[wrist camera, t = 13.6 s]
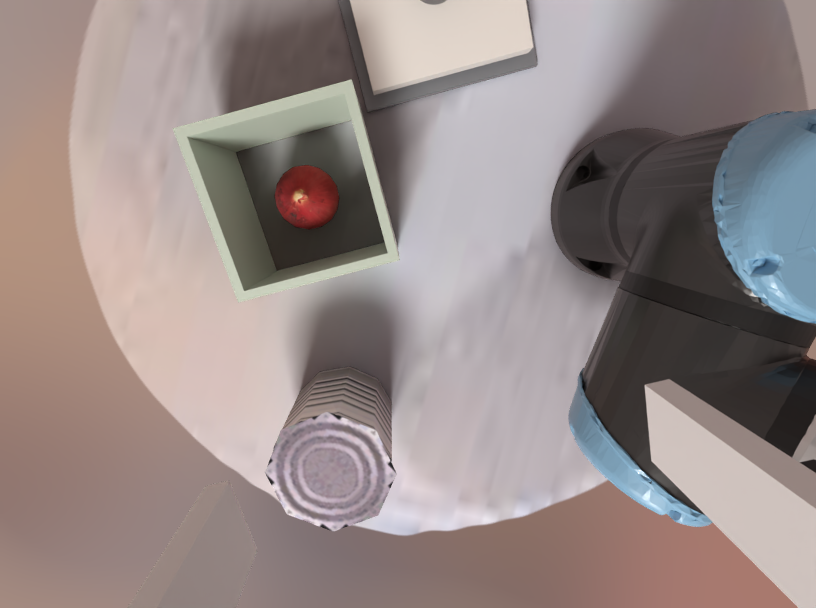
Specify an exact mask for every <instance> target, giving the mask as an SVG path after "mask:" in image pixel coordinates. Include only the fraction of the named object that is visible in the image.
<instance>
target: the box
mask: <svg viewBox="0 0 816 608" xmlns="http://www.w3.org/2000/svg"><path fill="white" fill-rule="evenodd" d="M351 120H352V123H353V127H354V130H355V134H356V138H357V141H358V145H359V149H360V153H361V156H362V160H363V164H364V167H365V171H366V175H367V178H368V182H369V186H370V189H371V193H372V197H373V200H374V204H375V208H376V212H377V215H378V219H379V223H380V226H381V230H382V234H383V237H384V241H385V242H384V243H381V244H377V245H373V246H369V247H365V248H362V249H358V250H354V251H350V252H347V253H343V254H339V255H335V256H331V257H328V258H324V259H320V260H316V261H312V262H309V263H305V264H301V265H297V266H294V267H290V268H286V269H282V270H278V271H277V270H276V267H275V265H274V262H273V259H272V256H271V253H270V250H269V247H268V244H267V241H266V238H265V236H264V233H263V230H262V227H261V224H260V221H259V218H258V215H257V212H256V210H255V207H254V204H253V201H252V198H251V195H250V192H249V189H248V186H247V183H246V181H245V178H244V175H243V172H242V169H241V166H240V163H239V160H238V157H237V154H236V152H237V151H241V150H244V149H248V148H252V147H255V146H259V145H263V144H266V143H270V142H274V141H277V140H281V139H285V138H288V137H292V136H296V135H299V134H303V133H307V132H310V131H314V130H318V129H321V128H325V127H329V126H332V125H336V124H340V123H343V122H347V121H351ZM173 131H174V133H175V136H176V139H177V141H178V144H179V147H180V149H181V152H182V155H183V157H184V160H185V163H186V165H187V168H188V170H189V173H190V176H191V178H192V181H193V184H194V186H195V189H196V192H197V194H198V197H199V200H200V202H201V205H202V208H203V210H204V213H205V216H206V218H207V221H208V224H209V226H210V229H211V231H212V234H213V237H214V239H215V242H216V245H217V247H218V250H219V253H220V255H221V258H222V261H223V263H224V266H225V269H226V271H227V274H228V277H229V279H230V282H231V284H232V287H233V290H234V292H235V295H236V298H237V300H238V303H239V302H242V301H246V300H250V299H254V298H258V297H261V296H265V295H269V294H273V293H277V292H280V291H284V290H288V289H292V288H296V287H299V286H303V285H307V284H311V283H315V282H318V281H322V280H326V279H330V278H334V277H337V276H341V275H345V274H349V273H353V272H356V271H360V270H364V269H368V268H372V267H375V266H379V265H383V264H387V263H391V262H394V261H398V260H400V259H399V252H398V246H397V242H396V238H395V234H394V231H393V227H392V223H391V219H390V215H389V212H388V208H387V204H386V200H385V197H384V193H383V189H382V185H381V181H380V178H379V174H378V170H377V166H376V162H375V159H374V155H373V151H372V147H371V143H370V140H369V136H368V132H367V128H366V124H365V121H364V117H363V113H362V109H361V106H360V103H359V100H358V97H357V94H356V91H355V88H354V85H353V82H352V79H351V80H347V81H344V82H340V83H337V84H333V85H329V86H326V87H322V88H318V89H315V90H311V91H307V92H304V93H300V94H297V95H293V96H289V97H286V98H282V99H278V100H275V101H271V102H267V103H264V104H260V105H257V106H253V107H249V108H246V109H242V110H238V111H235V112H231V113H228V114H224V115H220V116H217V117H213V118H209V119H206V120H202V121H198V122H195V123H191V124H188V125H184V126H180V127H177V128H173Z"/></svg>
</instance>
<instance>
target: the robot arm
mask: <svg viewBox="0 0 816 608" xmlns="http://www.w3.org/2000/svg"><path fill="white" fill-rule="evenodd" d="M551 223H552V229H553V233H554V237H555V239H556V242H557V244H558V246H559V248H560V249H561V251H562V252H563V254H564V255H565V256H566V258H567V259H568V260H569V261H570V262H572V263H573V264H574V265H575V266H576V267H578V268H580V269H581V270H583V271H585V272H587V273H589V274H592V275H595V276H598V277H601V278H604V279H608V280H617V281H621V283H620V285H619V287H618V289H617V291H616V294H615V296H614V299H613V301H612V303H611V306H610V308H609V311H608V313H607V316H606V318H605V320H604V323H603V325H602V328H601V330H600V333H599V335H598V337H597V340H596V342H595V345H594V347H593V349H592V352H591V354H590V356H589V359H588V361H587V363H586V365H585V368H583V369H582V370H581V372H580V375H579V376H578V386H577V389H576V392H575V395H574V398H573V401H572V404H571V406H570V410H569V425H570V429H571V431H572V434H573V435H574V437H575V441H576V443H577V445H578V446H579V448H580V449H581V451H582V452H583V454H584V455H585V456H586V457H587V459H588V460H589V461H590V462H591V463H592V464H593V465H594V467H595V468H596V469H597V470H598V471H599V472H600V473H601V474H603V475H604V476H605V477H606V478H607V479H608V480H609V481H611V482H612V483H613V484H614V485H615V486H616V487H617V488H619V489H620V490H621V491H623V492H624V493H625V494H627V495H628V496H629V497H631V498H632V499H634V500H635V501H637V502H638V503H640V504H641V505H643V506H645V507H646V508H648V509H650V510H652V511H654V512H656V513H658V514H660V515H664V514H667V515H669V516H670V517H671V518H672V519H673V520H674V521H675V522H678V523H681V524H684V525H688V526H695V527H701V526H707V525H710V524H711V523H712V522H713V523H714V524H715V525H716V526H717V527H718V528H719V529H720V530H721V531H722V532H723V533H724V534H725V535H726V536H727V537H728V538H729V539H730V540H731V541H732V542H733V543H734V544H735V545H736V546H737V547H738V548H739V549H740V550H741V551H742V552H743V553H744V554H745V555H746V556H747V557H748V558H749V559H750V560H751V561H752V562H753V563H754V564H755V565H756V566H757V567H758V568H759V569H760V570H761V571H762V572H763V573H764V574H765V575H766V576H767V577H768V578H769V579H770V580H771V581H772V582H773V583H775V584H776V586H777V587H778V588H779V589H780V590H781V591H782V592H783V593H784V594H785V595H786V596H787V597H788V598H789V599H790V600H791V601H792V602H793V603H794V604H795V605H796V606H797V607H798V608H816V360H814V359H810V358H809V357H808V356H807V355H806V354H807V352H808V350H809V348H810V346H811V344H812V342H813V340H814V339H815V337H816V109H813V110H806V111H799V112H789V111H784V112H781V113H771V114H767V115H764V116H762V117H760V118H758V119H756V120H752V121H747V122H743V123H739V124H734V125H730V126H726V127H721V128H717V129H713V130H708V131H704V132H700V133H695V134H691V135H686V136H682V137H680V136H677V135H673V134H670V133H667V132H664V131H660V130H656V129H649V128H635V129H627V130H623V131H619V132H616V133H613V134H609V135H606V136H604V137H601V138H599V139H597V140H595V141H594V142H592V143H590V144H589V145H587V146H586V147H585V148H583V149H582V150H581V151H580V152H579V153H577V154H576V156H575V157H574V158H573V159H572V160H571V161H570V162H569V164H568V165H567V166H566V168H565V169H564V171H563V172H562V174H561V176H560V178H559V180H558V182H557V185H556V187H555V191H554V194H553V198H552V204H551ZM256 553H257V548H256V545H255V543H254V540H253V538H252V536H251V533H250V530H249V528H248V525H247V523H246V520H245V518H244V515H243V513H242V510H241V508H240V506H239V503H238V501H237V498H236V496H235V493H234V491H233V488H232V486H231V483H230V481H225V482H221V483H216V484H211V485H207V486H205V487H204V489H203V491H202V492H201V494H200V495H199V497H198V498H197V500H196V502H195V503H194V505H193V506H192V508H191V509H190V511H189V513H188V514H187V516H186V517H185V519H184V520H183V522H182V524H181V525H180V526H179V528H178V530H177V531H176V533H175V534H174V536H173V537H172V539H171V540H170V542H169V544H168V545H167V547H166V549H165V550H164V551H163V553H162V555H161V556H160V558H159V559H158V561H157V563H156V564H155V565H154V567H153V569H152V570H151V572H150V573H149V575H148V576H147V578H146V579H145V581H144V583H143V584H142V586H141V587H140V589H139V590H138V592H137V593H136V595H135V597H134V598H133V600H132V601H131V603H130V604H129V606H128V608H236V607H237V604H238V601H239V599H240V596H241V593H242V591H243V588H244V585H245V583H246V580H247V577H248V575H249V572H250V569H251V567H252V564H253V561H254V558H255V556H256Z"/></svg>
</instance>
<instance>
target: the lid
mask: <svg viewBox="0 0 816 608" xmlns="http://www.w3.org/2000/svg"><path fill="white" fill-rule="evenodd" d="M350 4H351V8H352V12H353V15H354V19H355V23H356V27H357V31H358V35H359V39H360V43H361V47H362V51H363V55H364V59H365V63H366V67H367V70H368V74H369V78H370V82H371V86H372V90H373V94H374V95H376V94H380V93H384V92H387V91H391V90H395V89H398V88H402V87H406V86H409V85H413V84H417V83H420V82H424V81H428V80H431V79H435V78H439V77H442V76H446V75H450V74H453V73H457V72H460V71H464V70H468V69H471V68H475V67H479V66H482V65H486V64H490V63H493V62H497V61H501V60H504V59H508V58H512V57H515V56H519V55H523V54H526V53H529V51H530V50H531V49H532V48H533V41H532V35H531V29H530V22H529V16H528V10H527V3H526V0H350Z"/></svg>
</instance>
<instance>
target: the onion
mask: <svg viewBox="0 0 816 608" xmlns="http://www.w3.org/2000/svg"><path fill="white" fill-rule="evenodd" d="M275 200H276V205H277V208H278V210H279V212H280V213H281V215H282V216H283V218H284V219H285V220H286V221H288V222H289V223H291V224H292V225H294V226H295V227H298V228H304V229H309V230H310V229H314V228H318V227H322V226H323V225H325V224H326V223H327V222H329V221H330V220H331V219H332V218H333V216H334V214H335V213H336V211H337V208H338V203H339V194H338V190H337V186H336V184H335V183H334V181H333V180H332V178H331V177H330V176H329V175H328V174H327V173H325V172H324V171H323V170H321V169H320V168H317V167H313V166H309V165H304V166H297V167H293V168H291V169H290V170H288V171H287V172H286V173H284V174H283V175H282V177H281V179H280V180H279V182H278V183H277V187H276V191H275Z"/></svg>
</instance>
